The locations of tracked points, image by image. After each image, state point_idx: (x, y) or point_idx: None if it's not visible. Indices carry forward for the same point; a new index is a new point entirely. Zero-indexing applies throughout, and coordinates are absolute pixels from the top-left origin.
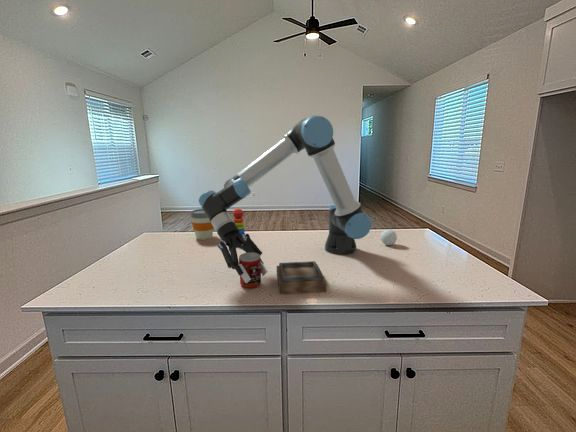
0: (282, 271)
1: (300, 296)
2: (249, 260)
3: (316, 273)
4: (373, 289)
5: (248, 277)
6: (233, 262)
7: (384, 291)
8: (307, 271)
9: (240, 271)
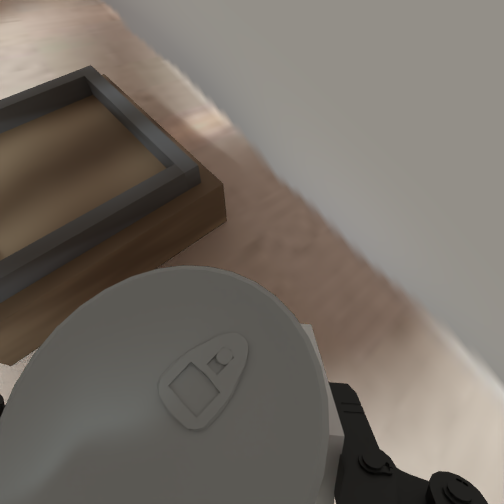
0: (111, 206)
1: (197, 158)
2: (284, 309)
3: (34, 119)
4: (48, 43)
5: (308, 334)
6: (438, 501)
7: (53, 27)
8: (19, 154)
9: (351, 398)
